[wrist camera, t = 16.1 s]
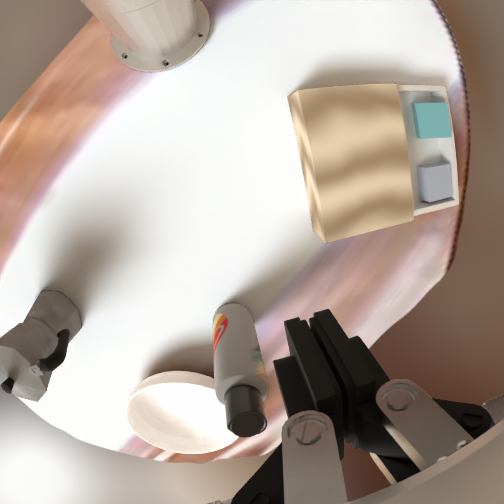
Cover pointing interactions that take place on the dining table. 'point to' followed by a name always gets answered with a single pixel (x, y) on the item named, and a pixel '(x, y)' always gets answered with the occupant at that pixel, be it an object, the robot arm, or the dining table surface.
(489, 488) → the robot arm
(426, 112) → the teal tile
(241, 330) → the lotion bottle
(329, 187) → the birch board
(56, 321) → the coffeepot
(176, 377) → the bowl
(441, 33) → the dining table surface
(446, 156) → the box
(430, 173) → the slate tile
